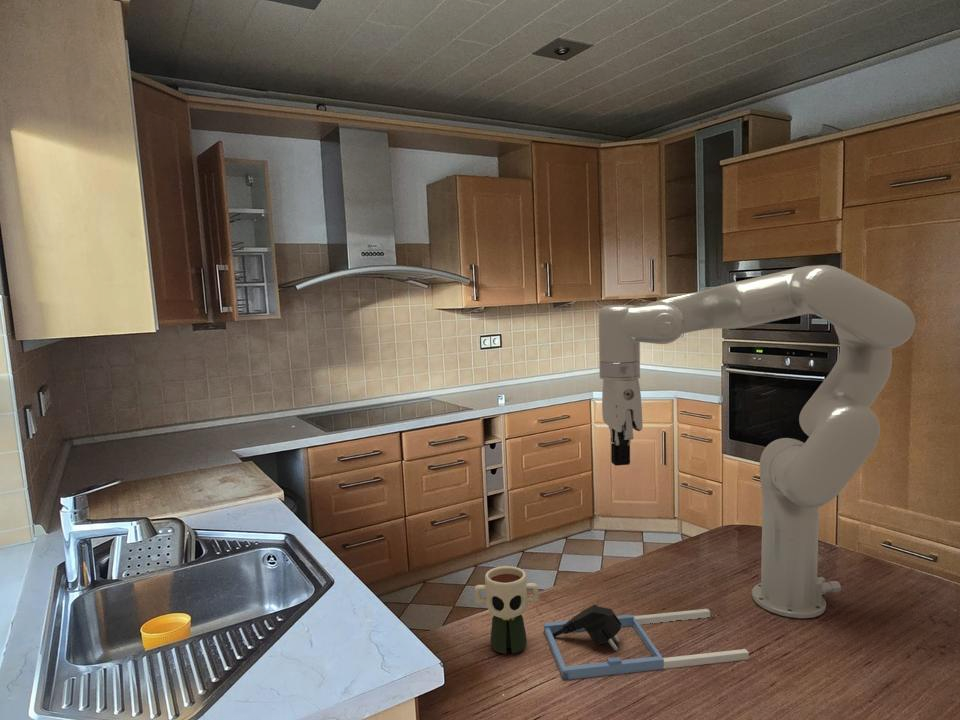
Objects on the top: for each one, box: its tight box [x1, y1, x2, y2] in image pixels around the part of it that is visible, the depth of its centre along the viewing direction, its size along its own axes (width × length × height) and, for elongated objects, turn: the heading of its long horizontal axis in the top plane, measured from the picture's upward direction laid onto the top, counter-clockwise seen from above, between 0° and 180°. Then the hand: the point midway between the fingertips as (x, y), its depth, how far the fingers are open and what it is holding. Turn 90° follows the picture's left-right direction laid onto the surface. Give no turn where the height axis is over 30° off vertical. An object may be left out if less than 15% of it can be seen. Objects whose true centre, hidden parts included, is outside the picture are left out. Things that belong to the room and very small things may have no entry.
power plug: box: [552, 604, 622, 652], centre depth 107 cm, size 6×8×12 cm
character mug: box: [474, 565, 539, 654], centre depth 106 cm, size 11×7×13 cm, turn 88°
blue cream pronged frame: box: [543, 608, 750, 681], centre depth 106 cm, size 31×14×2 cm, turn 97°
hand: (620, 463), depth 119 cm, fingers closed
